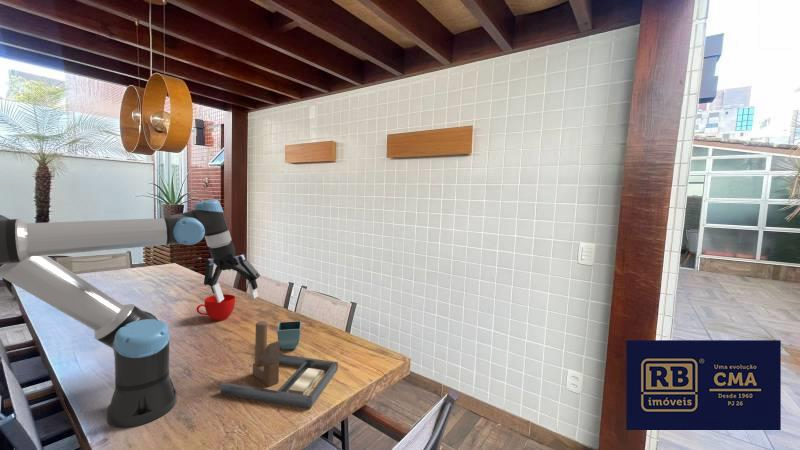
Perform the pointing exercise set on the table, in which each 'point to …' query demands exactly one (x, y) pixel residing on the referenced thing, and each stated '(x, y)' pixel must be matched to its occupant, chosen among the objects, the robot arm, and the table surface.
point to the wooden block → (266, 357)
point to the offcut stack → (306, 381)
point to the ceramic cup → (218, 307)
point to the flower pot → (289, 334)
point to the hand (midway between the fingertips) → (238, 299)
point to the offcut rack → (287, 384)
